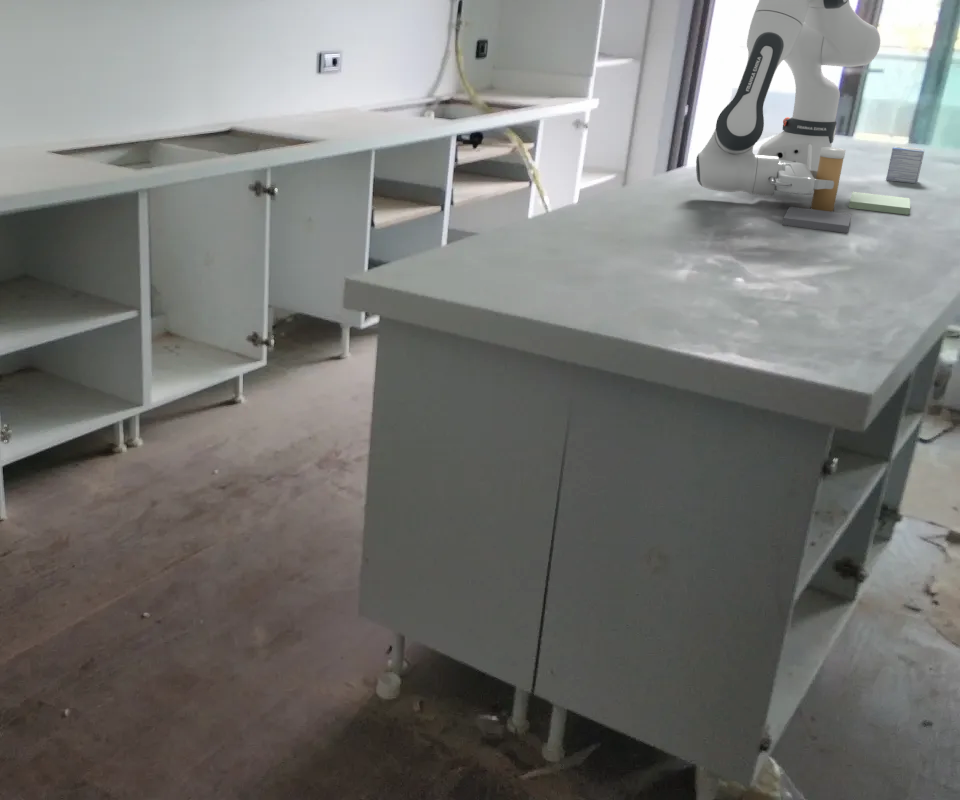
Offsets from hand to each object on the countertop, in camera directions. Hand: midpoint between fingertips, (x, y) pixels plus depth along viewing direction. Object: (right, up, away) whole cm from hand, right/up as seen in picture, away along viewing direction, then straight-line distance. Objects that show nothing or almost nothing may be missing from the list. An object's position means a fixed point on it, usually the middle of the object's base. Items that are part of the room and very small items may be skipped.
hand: (830, 180), depth 218 cm
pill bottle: (-1, -6, +3) cm, 7 cm away
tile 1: (-7, -11, -11) cm, 17 cm away
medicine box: (+35, +9, +43) cm, 56 cm away
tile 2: (+15, -4, +9) cm, 18 cm away
